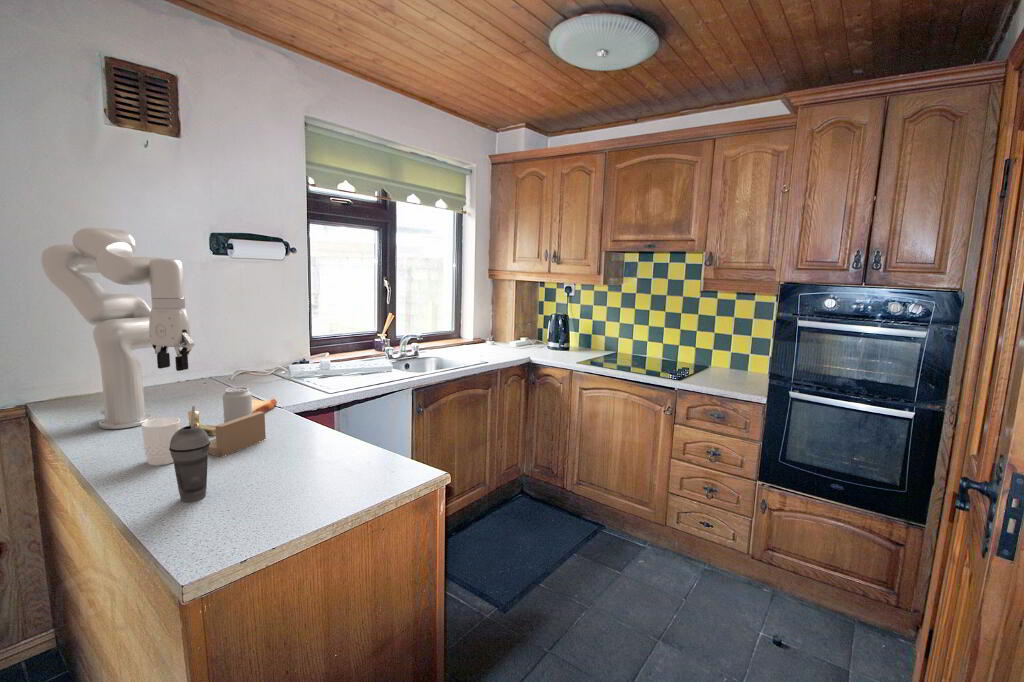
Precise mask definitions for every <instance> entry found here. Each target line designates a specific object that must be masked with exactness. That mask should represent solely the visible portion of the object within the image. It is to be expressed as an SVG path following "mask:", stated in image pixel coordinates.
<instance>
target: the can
mask: <svg viewBox="0 0 1024 682" xmlns="http://www.w3.org/2000/svg"><path fill="white" fill-rule="evenodd" d="M224 391H225V392H224V394H222V404H223V423H225V422H228V421H231V420H234V419H237V418H240V417H243V416H246V415H249V414H252V399H253V397H252V392H251V391H250V388H249V387H247V386H246V387H245V386H237V387H235V386H234V387H229V388H226V389H225V390H224Z"/></svg>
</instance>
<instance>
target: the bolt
mask: <svg viewBox="0 0 1024 682" xmlns="http://www.w3.org/2000/svg"><path fill="white" fill-rule="evenodd" d="M187 414H188V417H187V418H188V423H189V426H191V417H192V410H189V411H187ZM199 416H200V415H199V410H198V409H195V413H194V426H197V427H200V428H201V429H203V430H204V431H206V433H207V435H212V436H214V435H216V427H211V426H205V425H199V423H200V417H199Z"/></svg>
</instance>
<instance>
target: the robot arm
mask: <svg viewBox="0 0 1024 682" xmlns="http://www.w3.org/2000/svg"><path fill="white" fill-rule="evenodd" d="M136 248H137V246H136V241H135V239H134V237H133V235H131V234H130V233H129V232H127V231H125V230H123V229H118V228H117V229H116V228H103V227H101V228H100V227H85V228H84V227H83V228H80V229H79V230H76V231H75V233H74V234H73V236H72V244H69V243H68V244H67V243H65V244H53V245H50V246H48V247H46V248H44V250H43V251H42V252H41V255H40V256H41V257H40V260H41V261H40V262H41V265H42V266H41V267H42V270H43V272H44V273H45V276H46V277H47V278H48V280H49V281H50V283H52V284H53V286H55V287H56V288H57V289H58V290H59V291H61V293H63V295H65V296H66V297H67V299H69V301H70V302H71V304H72V305H73V307H75V309H76V310H77V311H78V313H80V315H81V316H82V318H83V319H84V320H85V321H86V322H87V323H88V324H90V325H92V326H94V328H93V330H92V336H93V337H92V338H93V341H94V344H95V347H96V350H97V353H98V358H99V359H98V360H99V364H100V374H101V383H102V384H101V385H102V394H103V395H102V396H103V403H104V404H103V405H104V408H103V409H101V410H100V411H99V413H100V414H101V415H104V417H103V419H102V420H100V421H99V422H98V427H99V428H102V429H106V430H120V429H122V430H123V429H129V428H134V427H138V426H141V424H142V423H144V422H146V421H148V420H152V419H153V415H151V414H150V413H146V406H145V396H144V395H145V392H144V384H143V383H144V382H143V380H144V379H143V371H142V370H143V369H142V363H141V361H140V359H138V358H137V356H136V355H134V353H133V352H132V351H135V350H142V349H148V348H153V349H154V354H155V355H156V361H157V362H156V363H157V369H164V368H170V367H171V356H170V352H168V351H169V348H174V351H175V353H176V356H175V361H174V362H175V370H176V371H177V372H180V371H185V370H189V358H188V357H189V356H190V352H191V351H192V348H193V347H194V346H195V342H194V341H193V340H192V338H191V329H190V322H189V317H188V312H187V310H186V299H185V297H186V295H185V284H184V280H185V279H184V267H183V266H184V265H183V263H182V261H181V260H180V259H179V260H178V259H174V258H162V257H147V256H134V253H135V252H136ZM88 273H89V274H100V275H101V276H102V277H104V278H105V279H107V280H109V281H111V282H113V283H114V284H118V285H122V286H139V285H140V286H141V285H147V286H150V294H151V295H150V296H151V308H150V306H149V304H148V303H147V302H146V301H145V299H143V298H141V297H140V296H138V295H136V294H133V293H109V292H107V291H105V289H104V288H103V287H102V286H101V285H100V284H99V283H98V282H97V281H96V280H95V279H93V278H91V277H89V276H87V275H86V274H88Z"/></svg>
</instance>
